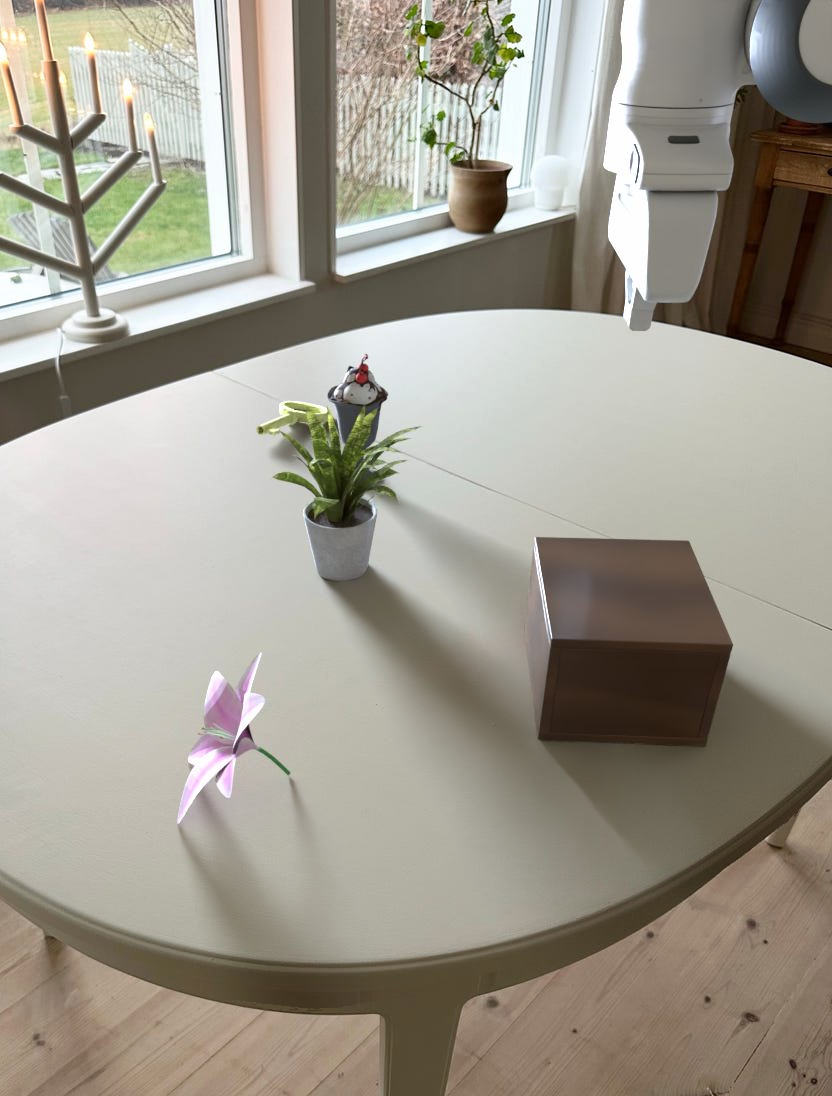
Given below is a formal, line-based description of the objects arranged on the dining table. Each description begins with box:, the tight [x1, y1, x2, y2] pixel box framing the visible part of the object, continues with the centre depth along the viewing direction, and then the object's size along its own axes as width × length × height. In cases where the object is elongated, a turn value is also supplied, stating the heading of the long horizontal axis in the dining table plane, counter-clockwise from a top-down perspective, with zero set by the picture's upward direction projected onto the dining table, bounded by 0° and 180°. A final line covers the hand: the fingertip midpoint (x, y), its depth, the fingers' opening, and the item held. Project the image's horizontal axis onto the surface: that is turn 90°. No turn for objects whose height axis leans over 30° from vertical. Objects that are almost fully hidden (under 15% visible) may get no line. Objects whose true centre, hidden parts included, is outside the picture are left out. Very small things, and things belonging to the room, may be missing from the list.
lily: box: [176, 652, 291, 825], centre depth 68 cm, size 12×12×10 cm
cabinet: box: [523, 536, 734, 747], centre depth 76 cm, size 15×13×10 cm
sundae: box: [326, 353, 389, 486], centre depth 106 cm, size 7×7×15 cm
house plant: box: [270, 405, 423, 582], centre depth 88 cm, size 14×14×16 cm
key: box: [256, 400, 328, 436], centre depth 121 cm, size 7×12×2 cm, turn 166°
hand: (636, 325), depth 81 cm, fingers closed
